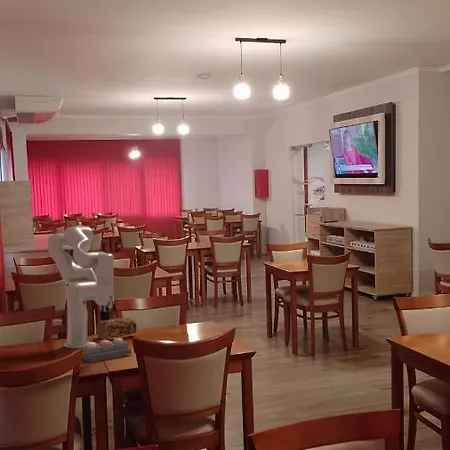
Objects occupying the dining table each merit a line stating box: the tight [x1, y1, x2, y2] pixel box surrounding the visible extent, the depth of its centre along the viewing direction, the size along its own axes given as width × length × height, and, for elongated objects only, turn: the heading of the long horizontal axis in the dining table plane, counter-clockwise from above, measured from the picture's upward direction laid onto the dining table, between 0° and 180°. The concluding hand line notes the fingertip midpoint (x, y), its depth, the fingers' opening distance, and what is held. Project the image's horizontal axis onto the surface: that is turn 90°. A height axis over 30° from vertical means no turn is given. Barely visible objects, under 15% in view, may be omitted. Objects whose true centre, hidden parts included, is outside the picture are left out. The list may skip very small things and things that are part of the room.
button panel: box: [80, 340, 132, 363], centre depth 280 cm, size 12×21×6 cm, turn 130°
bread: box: [96, 317, 137, 340], centre depth 319 cm, size 19×11×10 cm, turn 125°
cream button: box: [87, 341, 97, 348], centre depth 275 cm, size 4×4×3 cm
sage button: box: [113, 338, 124, 344], centre depth 284 cm, size 4×4×3 cm
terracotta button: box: [99, 339, 111, 346], centre depth 280 cm, size 4×4×3 cm
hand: (105, 319), depth 279 cm, fingers closed
